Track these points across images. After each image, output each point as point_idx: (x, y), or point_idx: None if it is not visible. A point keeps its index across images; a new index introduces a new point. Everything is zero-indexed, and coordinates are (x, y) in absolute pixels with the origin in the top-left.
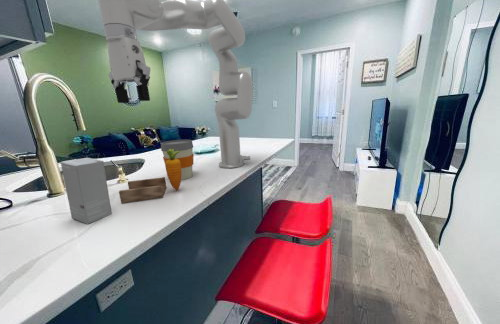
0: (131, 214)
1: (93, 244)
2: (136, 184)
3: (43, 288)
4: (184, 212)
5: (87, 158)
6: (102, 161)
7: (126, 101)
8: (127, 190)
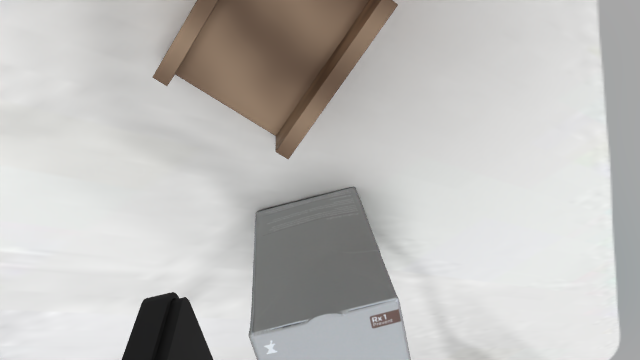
0: (423, 145)
1: (504, 261)
2: (190, 47)
3: (572, 337)
4: (596, 15)
5: (285, 340)
6: (398, 301)
7: (198, 333)
8: (307, 130)
